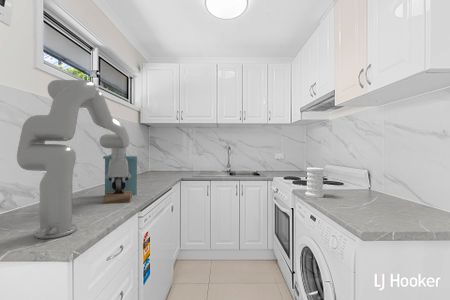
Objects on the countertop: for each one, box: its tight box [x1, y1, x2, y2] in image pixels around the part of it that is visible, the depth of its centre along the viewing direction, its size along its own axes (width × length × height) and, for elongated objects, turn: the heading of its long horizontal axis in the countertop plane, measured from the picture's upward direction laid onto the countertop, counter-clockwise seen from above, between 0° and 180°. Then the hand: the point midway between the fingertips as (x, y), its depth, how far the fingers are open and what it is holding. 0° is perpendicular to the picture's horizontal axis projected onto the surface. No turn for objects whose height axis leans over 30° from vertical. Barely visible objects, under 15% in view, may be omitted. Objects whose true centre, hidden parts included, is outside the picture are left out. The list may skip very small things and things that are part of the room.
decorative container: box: [304, 167, 325, 198], centre depth 156 cm, size 12×12×18 cm
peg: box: [115, 177, 123, 194], centre depth 133 cm, size 4×4×10 cm
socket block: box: [103, 190, 133, 205], centre depth 133 cm, size 13×13×4 cm
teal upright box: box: [102, 155, 138, 196], centre depth 142 cm, size 8×18×24 cm, turn 108°
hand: (118, 188), depth 133 cm, fingers closed on peg, 4 cm apart
